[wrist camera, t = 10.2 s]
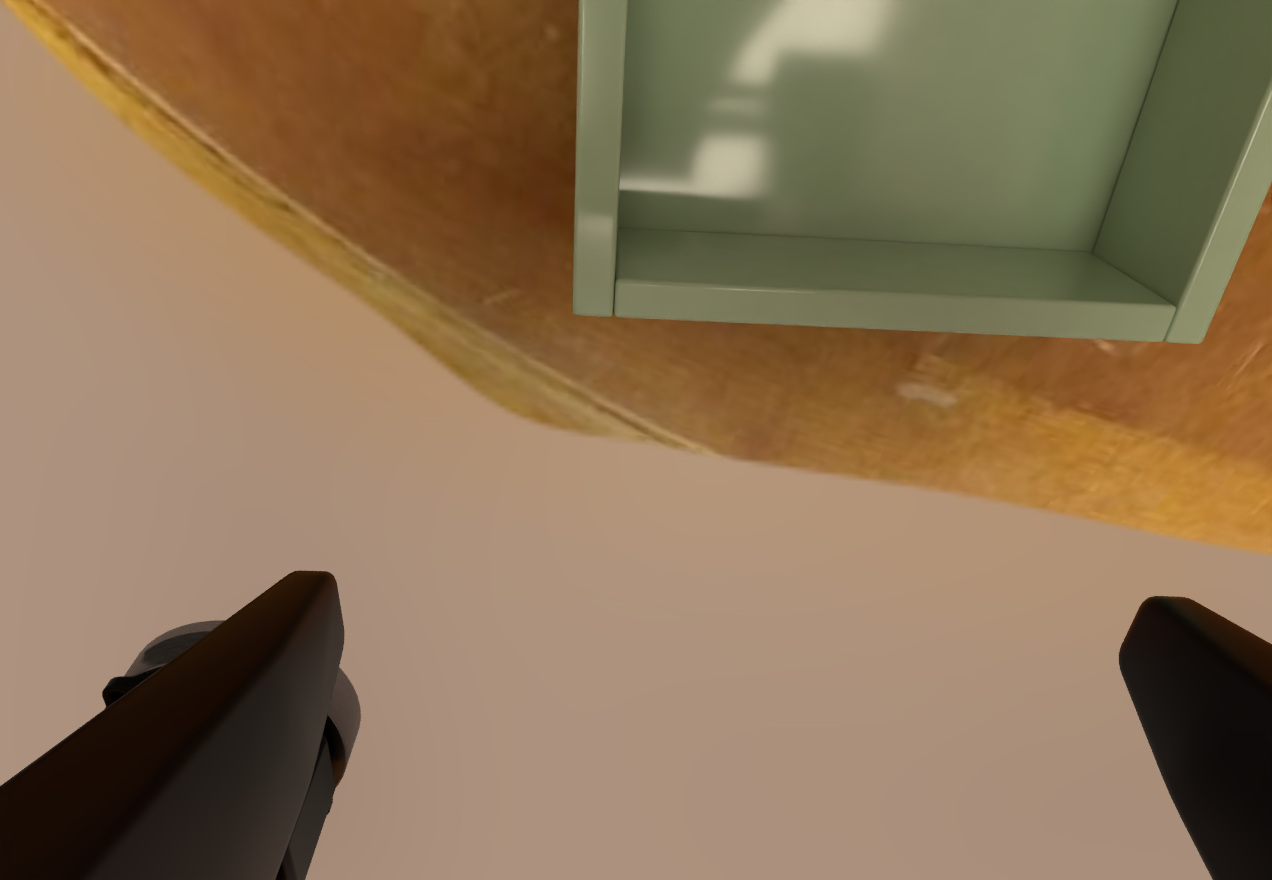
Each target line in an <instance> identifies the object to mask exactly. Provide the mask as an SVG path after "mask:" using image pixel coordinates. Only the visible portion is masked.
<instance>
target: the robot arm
mask: <svg viewBox="0 0 1272 880" xmlns="http://www.w3.org/2000/svg"><path fill="white" fill-rule="evenodd" d="M343 645H344V626H343V620H342V613H341V606H340V601H339V594H338V588H337V583H336V580H335V578H334V576H333V575H332V574H331V573H329V572H325V571H294V572H292V573H290V574H288V575H287V576H286V577H284V578H283V579H282V580H280V581H279V582H277V583H276V584H275V585H273V586H272V587H271V588H269V589H268V590H266V591H265V592H264V593H262V594H261V595H260V596H258V597H257V598H256V599H254V600H253V601H252V602H250V603H249V604H248V605H246V606H245V607H243V608H242V609H241V610H239V611H238V612H237V613H235V614H234V615H232V616H231V617H230V618H228V619H227V620H226V621H224V622H223V623H222V624H220V625H219V626H217V627H216V628H215V629H213V630H212V631H211V632H209V633H208V634H207V635H205V636H204V637H202V638H201V639H200V640H198V641H197V642H196V643H194V644H193V645H192V646H190V647H189V648H188V649H186V650H185V651H183V652H182V653H181V654H179V655H178V656H177V657H175V658H174V659H173V660H171V661H170V662H169V663H167V664H166V665H164V666H163V667H162V668H160V669H159V670H158V671H156V672H155V673H154V674H152V675H151V676H149V677H129V676H120V677H114V678H112V679H111V680H110V681H109V682H108V684H107V686H106V687H105V688H104V690H103V691H102V697H103V700H104V702H105V705H106V709H105V710H103V711H102V712H101V713H100V714H98V715H96V716H95V717H94V718H93V719H91V720H90V721H88V722H87V723H86V724H85V725H83V726H82V727H80V728H79V729H77V730H76V731H75V732H73V733H72V734H71V735H69V736H68V737H67V738H65V739H64V740H62V741H61V742H60V743H58V744H57V745H56V746H54V747H53V748H52V749H50V750H49V751H48V752H46V753H45V754H43V755H42V756H41V757H39V758H38V759H37V760H35V761H34V762H33V763H31V764H30V765H28V766H27V767H26V768H24V769H23V770H22V771H20V772H19V773H18V774H16V775H15V776H14V777H12V778H11V779H10V780H8V781H7V782H5V783H4V784H3V785H1V786H0V880H305V878H306V875H307V872H308V869H309V866H310V863H311V860H312V857H313V854H314V851H315V848H316V845H317V842H318V839H319V836H320V833H321V830H322V827H323V824H324V821H325V818H326V816H327V815H328V813H329V812H330V809H331V806H332V803H333V794H334V791H335V788H336V783H335V777H334V772H333V767H332V762H331V756H330V751H329V746H328V741H327V739H326V738H325V737H324V735H323V730H324V726H325V722H326V718H327V714H328V709H329V705H330V701H331V697H332V693H333V689H334V685H335V680H336V676H337V672H338V668H339V664H340V660H341V656H342V651H343ZM1119 665H1120V670H1121V673H1122V676H1123V678H1124V681H1125V683H1126V686H1127V688H1128V691H1129V693H1130V696H1131V699H1132V701H1133V704H1134V706H1135V709H1136V711H1137V714H1138V716H1139V719H1140V721H1141V724H1142V727H1143V729H1144V732H1145V734H1146V737H1147V739H1148V742H1149V744H1150V747H1151V749H1152V752H1153V754H1154V757H1155V759H1156V762H1157V765H1158V767H1159V769H1160V772H1161V775H1162V777H1163V779H1164V782H1165V784H1166V786H1167V789H1168V791H1169V794H1170V796H1171V798H1172V800H1173V802H1174V804H1175V806H1176V808H1177V810H1178V812H1179V815H1180V817H1181V819H1182V821H1183V822H1184V825H1185V827H1186V828H1187V830H1188V832H1189V834H1190V836H1191V838H1192V840H1193V842H1194V844H1195V846H1196V848H1197V850H1198V852H1199V854H1200V856H1201V858H1202V860H1203V862H1204V863H1205V866H1206V868H1207V869H1208V871H1209V873H1210V875H1211V877H1212V879H1213V880H1272V644H1270V643H1268V642H1266V641H1265V640H1263V639H1261V638H1259V637H1258V636H1256V635H1254V634H1252V633H1250V632H1249V631H1247V630H1245V629H1243V628H1242V627H1240V626H1238V625H1236V624H1234V623H1233V622H1231V621H1229V620H1227V619H1226V618H1224V617H1222V616H1220V615H1218V614H1217V613H1215V612H1213V611H1211V610H1210V609H1208V608H1206V607H1204V606H1202V605H1201V604H1199V603H1197V602H1195V601H1193V600H1191V599H1189V598H1185V597H1168V596H1154V597H1149V598H1148V599H1146V600H1145V601H1144V602H1143V603H1142V604H1141V606H1140V607H1139V610H1138V612H1137V614H1136V616H1135V618H1134V620H1133V622H1132V624H1131V626H1130V629H1129V631H1128V633H1127V635H1126V637H1125V639H1124V642H1123V643H1122V645H1121V648H1120V652H1119Z"/></svg>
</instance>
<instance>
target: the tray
mask: <svg viewBox="0 0 1272 880" xmlns="http://www.w3.org/2000/svg"><path fill="white" fill-rule="evenodd" d="M1271 183H1272V0H578V45H577V94H576V144H575V193H574V243H573V292H572V311H573V314H574V315H578V316H600V317H610V316H612V314H613V312H614V315H615V316H616V317H621V318H643V319H665V320H687V321H708V322H730V323H752V324H774V325H796V326H818V327H839V328H861V329H883V330H905V331H927V332H949V333H970V334H992V335H1014V336H1036V337H1058V338H1080V339H1102V340H1123V341H1145V342H1162V341H1165V342H1167V343H1189V344H1200V343H1201V342H1202V341H1203V340H1204V337H1205V335H1206V333H1207V330H1208V328H1209V326H1210V323H1211V321H1212V319H1213V317H1214V314H1215V312H1216V310H1217V307H1218V305H1219V303H1220V300H1221V298H1222V296H1223V294H1224V291H1225V289H1226V287H1227V284H1228V282H1229V280H1230V277H1231V275H1232V273H1233V271H1234V268H1235V266H1236V264H1237V261H1238V259H1239V257H1240V254H1241V252H1242V250H1243V248H1244V245H1245V243H1246V241H1247V238H1248V236H1249V234H1250V231H1251V229H1252V227H1253V225H1254V222H1255V220H1256V218H1257V215H1258V213H1259V211H1260V208H1261V206H1262V204H1263V202H1264V199H1265V197H1266V195H1267V192H1268V190H1269V188H1270V185H1271Z"/></svg>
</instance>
